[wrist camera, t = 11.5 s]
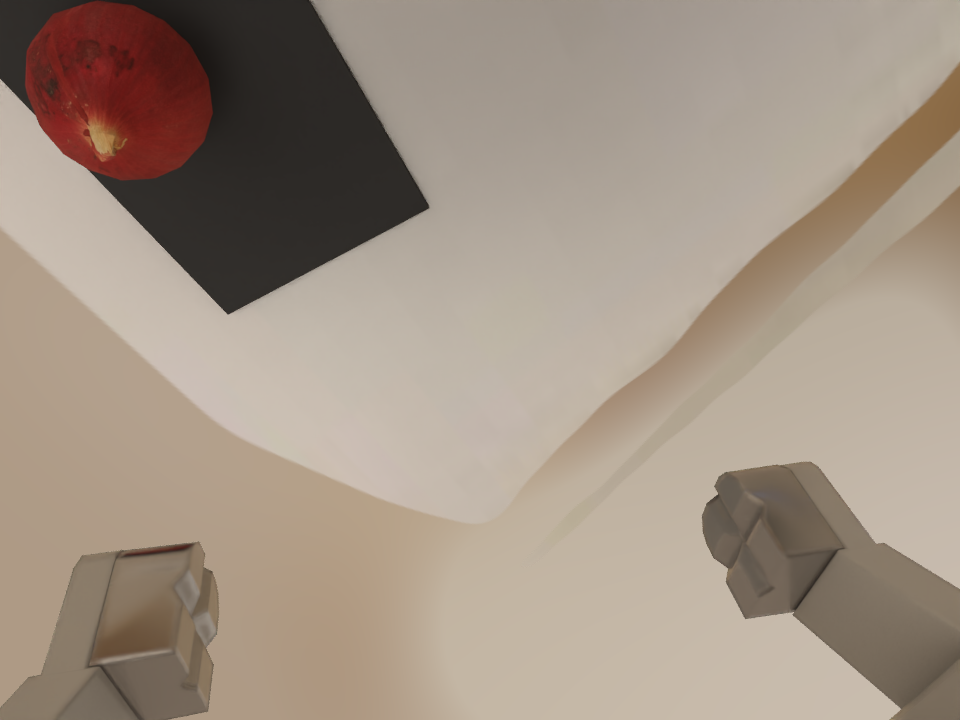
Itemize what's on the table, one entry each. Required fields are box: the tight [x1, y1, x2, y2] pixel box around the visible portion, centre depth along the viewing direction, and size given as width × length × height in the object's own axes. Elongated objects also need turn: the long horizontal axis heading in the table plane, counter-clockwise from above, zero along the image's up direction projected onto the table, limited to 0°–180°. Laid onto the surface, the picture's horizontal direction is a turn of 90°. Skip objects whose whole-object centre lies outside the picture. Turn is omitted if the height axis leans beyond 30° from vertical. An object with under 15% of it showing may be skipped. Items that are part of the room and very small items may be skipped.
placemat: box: [0, 0, 429, 314], centre depth 27 cm, size 22×12×1 cm, turn 25°
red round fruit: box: [25, 1, 213, 180], centre depth 23 cm, size 6×6×8 cm
